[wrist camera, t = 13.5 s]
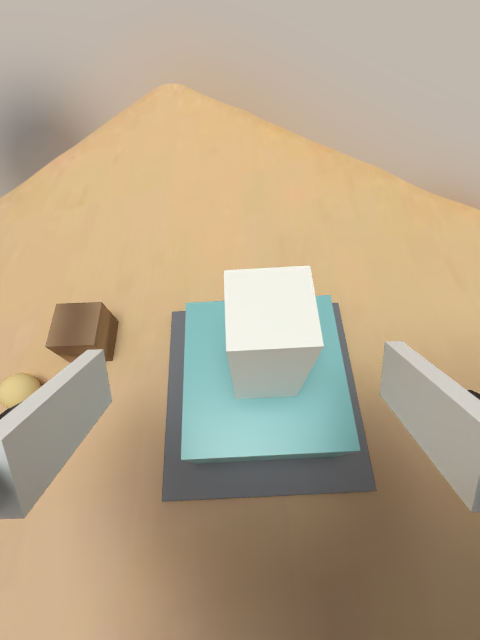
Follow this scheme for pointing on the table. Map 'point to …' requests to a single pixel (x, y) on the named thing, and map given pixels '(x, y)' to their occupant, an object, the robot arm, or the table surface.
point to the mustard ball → (17, 389)
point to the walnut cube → (82, 330)
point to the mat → (263, 474)
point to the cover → (265, 372)
